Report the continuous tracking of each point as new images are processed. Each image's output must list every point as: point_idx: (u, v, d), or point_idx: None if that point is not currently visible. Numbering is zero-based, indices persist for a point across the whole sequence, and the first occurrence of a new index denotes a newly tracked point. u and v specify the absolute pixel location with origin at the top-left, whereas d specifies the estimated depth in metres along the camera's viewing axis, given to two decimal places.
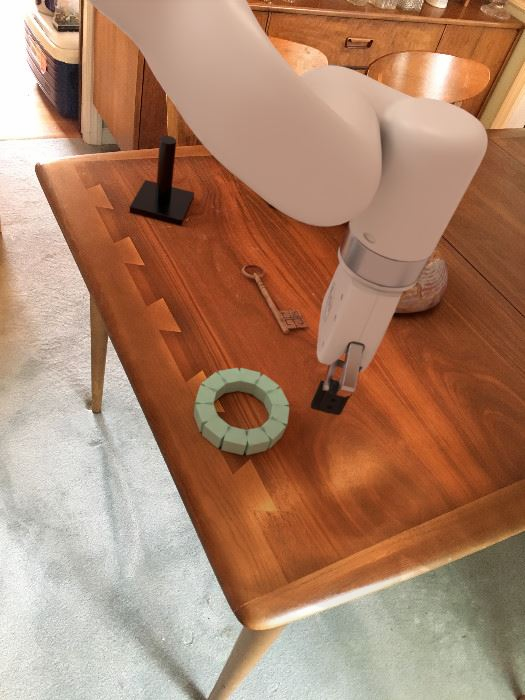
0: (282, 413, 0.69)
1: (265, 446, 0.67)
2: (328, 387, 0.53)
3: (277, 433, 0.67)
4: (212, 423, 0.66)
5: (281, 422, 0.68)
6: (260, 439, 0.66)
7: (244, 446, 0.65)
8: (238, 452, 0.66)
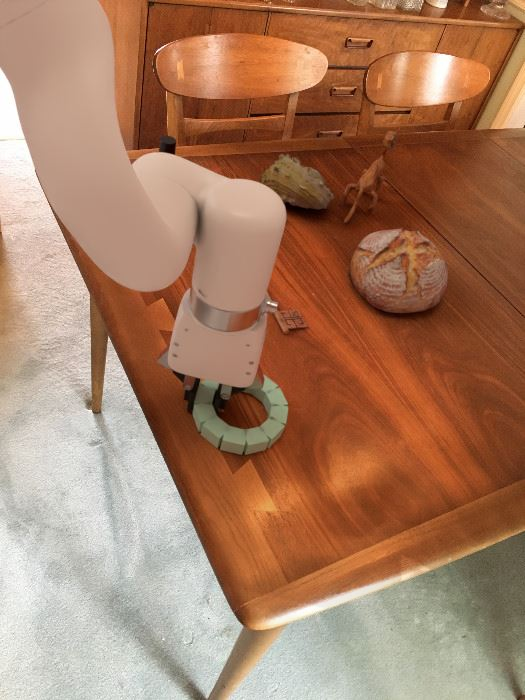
0: (281, 413, 0.69)
1: (264, 446, 0.67)
2: None
3: (276, 433, 0.67)
4: (211, 423, 0.66)
5: (280, 421, 0.68)
6: (259, 439, 0.66)
7: (243, 446, 0.65)
8: (236, 451, 0.66)
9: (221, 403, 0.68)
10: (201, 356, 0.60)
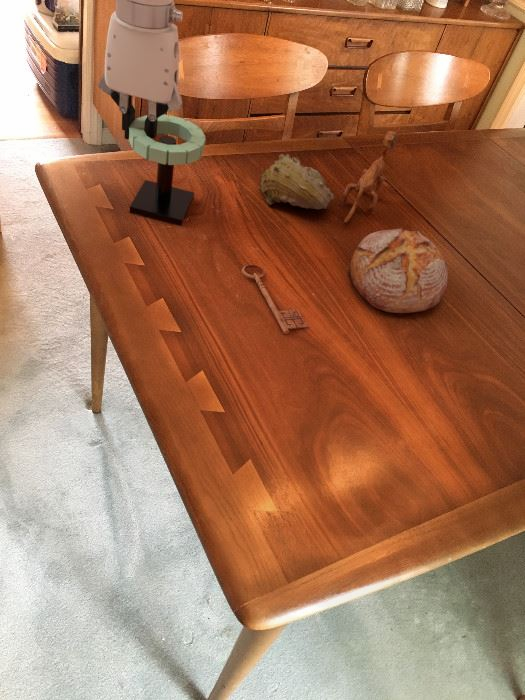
0: (199, 140, 0.87)
1: (183, 158, 0.85)
2: None
3: (193, 149, 0.85)
4: (141, 138, 0.84)
5: (197, 144, 0.87)
6: (178, 150, 0.84)
7: (165, 152, 0.83)
8: (161, 160, 0.85)
9: (151, 129, 0.86)
10: (128, 65, 0.78)
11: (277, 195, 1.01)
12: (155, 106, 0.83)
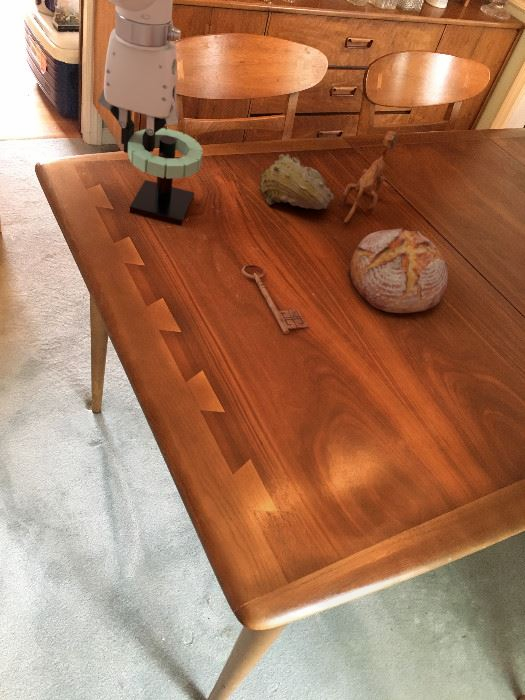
0: (196, 154, 0.89)
1: (181, 172, 0.87)
2: None
3: (190, 162, 0.87)
4: (139, 152, 0.86)
5: (195, 158, 0.88)
6: (176, 164, 0.86)
7: (163, 166, 0.85)
8: (159, 174, 0.86)
9: (148, 143, 0.88)
10: (127, 82, 0.80)
11: (277, 195, 1.01)
12: (153, 121, 0.85)
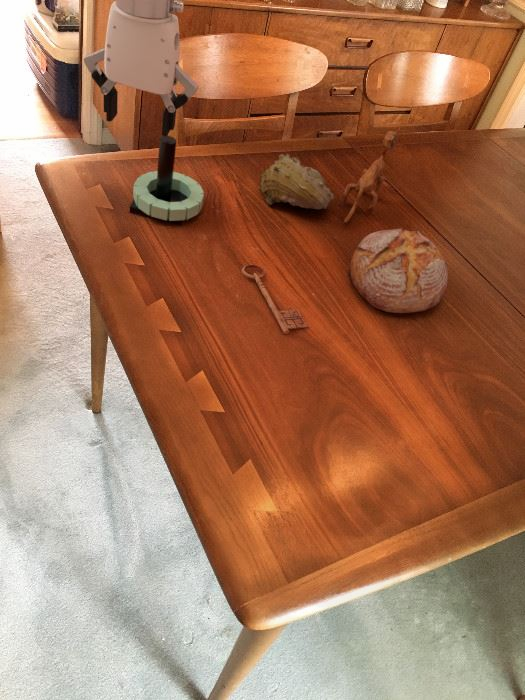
0: (197, 196, 0.95)
1: (183, 215, 0.92)
2: None
3: (192, 206, 0.93)
4: (144, 196, 0.92)
5: (196, 200, 0.94)
6: (178, 207, 0.91)
7: (166, 210, 0.91)
8: (163, 217, 0.92)
9: (169, 121, 0.85)
10: (128, 56, 0.78)
11: (277, 195, 1.01)
12: (168, 96, 0.82)
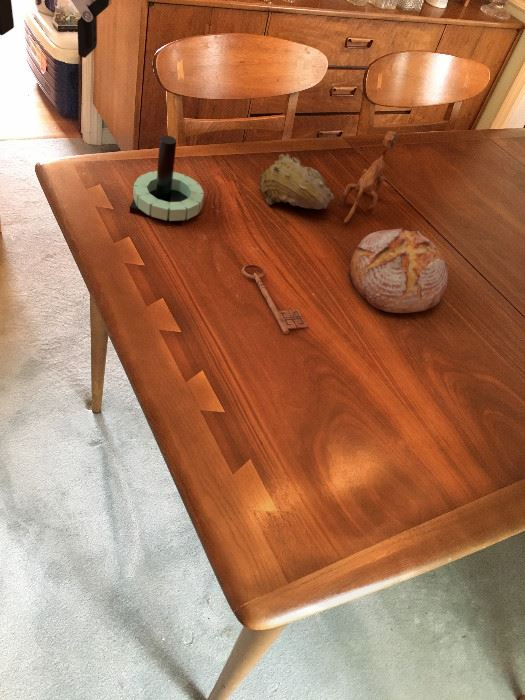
0: (197, 196, 0.95)
1: (183, 215, 0.92)
2: None
3: (192, 206, 0.93)
4: (144, 196, 0.92)
5: (196, 200, 0.94)
6: (178, 207, 0.91)
7: (166, 210, 0.91)
8: (163, 217, 0.92)
9: (87, 35, 0.64)
10: None
11: (277, 195, 1.01)
12: None
